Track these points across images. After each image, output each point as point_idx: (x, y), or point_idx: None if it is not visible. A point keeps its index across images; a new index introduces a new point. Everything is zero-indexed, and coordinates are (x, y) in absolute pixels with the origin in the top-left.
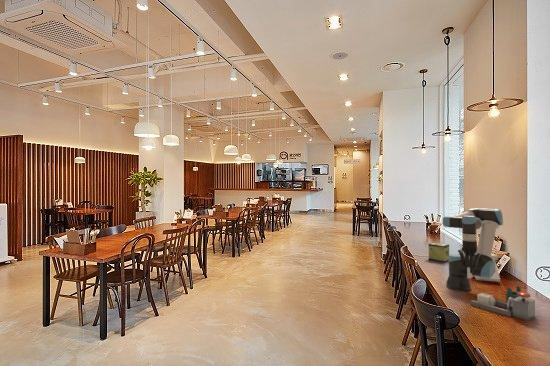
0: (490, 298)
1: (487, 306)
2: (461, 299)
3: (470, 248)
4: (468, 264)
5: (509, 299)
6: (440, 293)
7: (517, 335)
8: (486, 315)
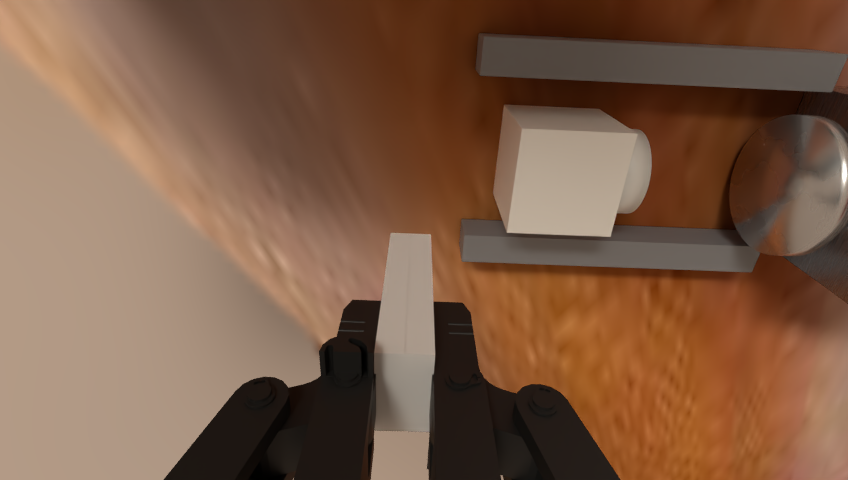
0: (619, 204)
1: (591, 263)
2: (353, 177)
3: None
4: (357, 425)
5: (815, 247)
6: (156, 173)
7: (756, 453)
8: (596, 343)
